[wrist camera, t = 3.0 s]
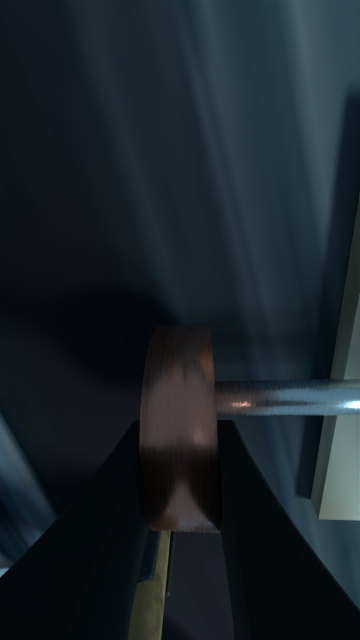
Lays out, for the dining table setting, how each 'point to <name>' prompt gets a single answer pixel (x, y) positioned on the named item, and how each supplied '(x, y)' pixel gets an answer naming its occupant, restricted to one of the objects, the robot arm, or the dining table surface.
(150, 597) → the ammunition clip
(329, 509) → the eye bracket
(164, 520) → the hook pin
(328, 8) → the dining table surface
